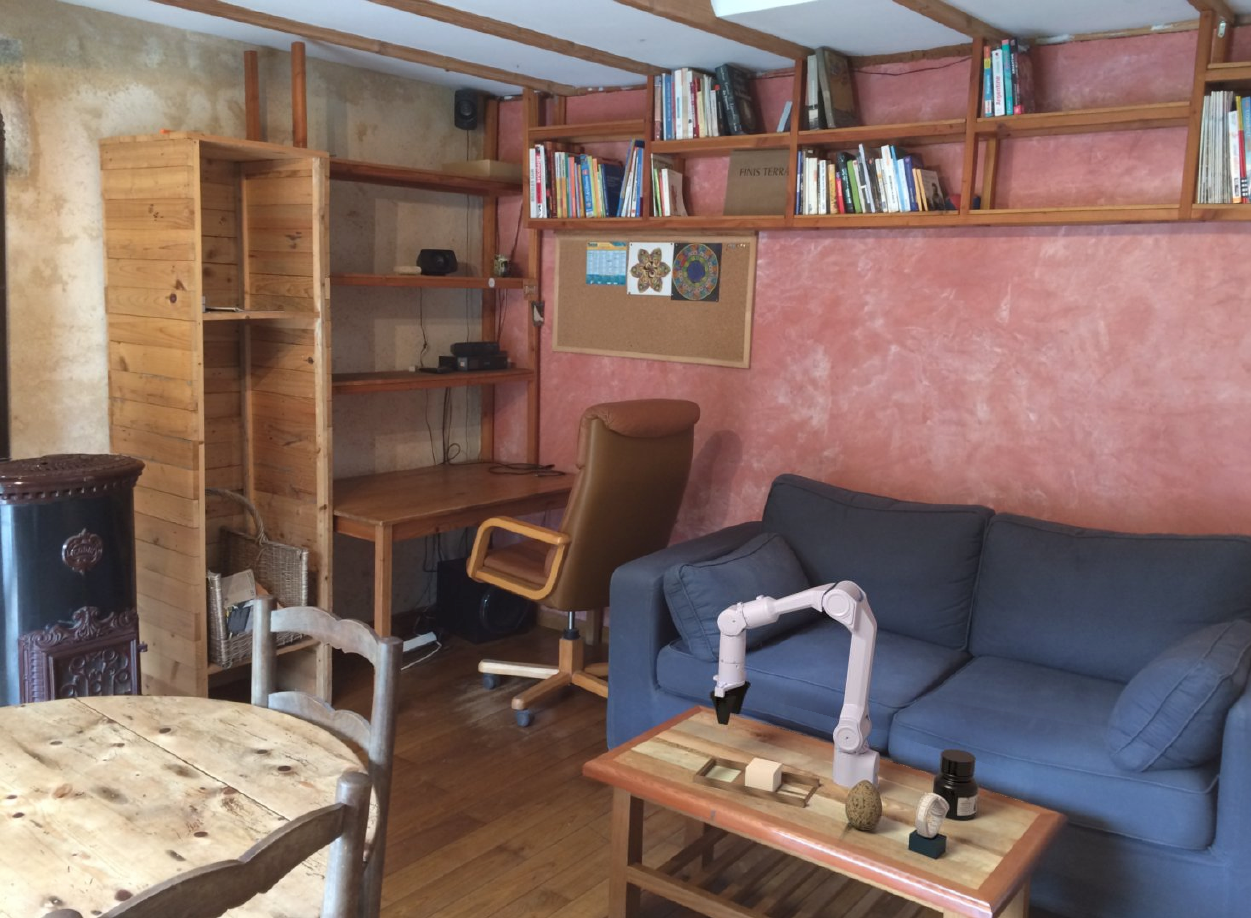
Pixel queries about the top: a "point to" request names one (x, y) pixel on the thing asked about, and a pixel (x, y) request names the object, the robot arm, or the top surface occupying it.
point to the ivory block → (763, 774)
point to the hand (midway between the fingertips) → (729, 718)
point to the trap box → (733, 780)
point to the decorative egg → (863, 806)
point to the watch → (929, 827)
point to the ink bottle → (957, 784)
